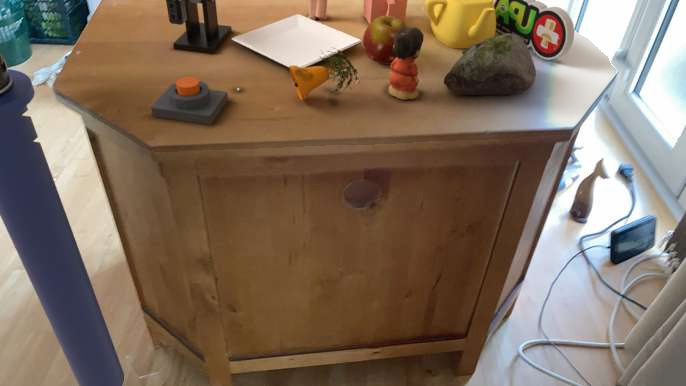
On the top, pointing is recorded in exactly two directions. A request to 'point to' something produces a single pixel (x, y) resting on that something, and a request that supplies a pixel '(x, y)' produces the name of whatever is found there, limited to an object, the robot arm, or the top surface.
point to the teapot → (462, 21)
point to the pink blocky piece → (384, 9)
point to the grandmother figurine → (317, 9)
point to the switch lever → (194, 1)
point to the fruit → (382, 38)
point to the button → (188, 86)
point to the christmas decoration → (321, 75)
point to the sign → (536, 26)
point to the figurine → (405, 63)
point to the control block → (190, 105)
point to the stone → (493, 67)
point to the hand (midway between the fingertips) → (178, 22)
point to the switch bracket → (202, 29)
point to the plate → (296, 41)
